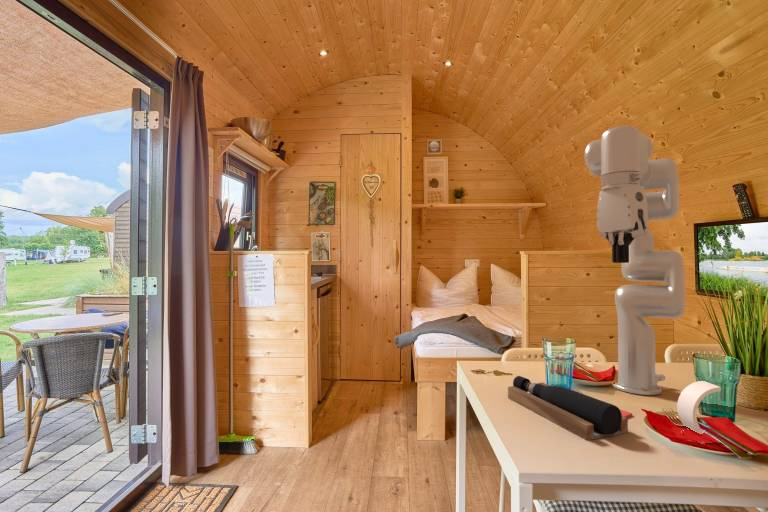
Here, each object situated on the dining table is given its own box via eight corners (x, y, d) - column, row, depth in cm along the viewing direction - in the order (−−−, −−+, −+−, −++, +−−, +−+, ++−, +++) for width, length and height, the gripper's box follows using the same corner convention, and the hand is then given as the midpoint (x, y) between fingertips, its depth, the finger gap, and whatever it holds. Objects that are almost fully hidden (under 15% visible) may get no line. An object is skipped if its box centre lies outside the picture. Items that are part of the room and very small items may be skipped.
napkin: (599, 405, 106) (599, 403, 106) (632, 415, 99) (632, 413, 99) (583, 412, 101) (583, 409, 101) (616, 422, 95) (616, 420, 95)
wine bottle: (605, 402, 86) (512, 369, 114) (599, 432, 85) (506, 391, 113) (624, 408, 89) (528, 373, 116) (618, 436, 88) (523, 395, 115)
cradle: (542, 393, 115) (542, 382, 115) (627, 432, 89) (627, 418, 89) (508, 398, 112) (508, 386, 112) (586, 440, 86) (586, 425, 86)
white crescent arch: (721, 443, 84) (720, 387, 84) (692, 443, 84) (692, 387, 84) (704, 434, 89) (703, 380, 89) (677, 433, 89) (676, 380, 89)
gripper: (664, 177, 84) (664, 263, 84) (606, 188, 99) (606, 262, 99) (637, 175, 82) (637, 263, 82) (581, 187, 96) (582, 262, 96)
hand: (620, 262), depth 90 cm, fingers closed
